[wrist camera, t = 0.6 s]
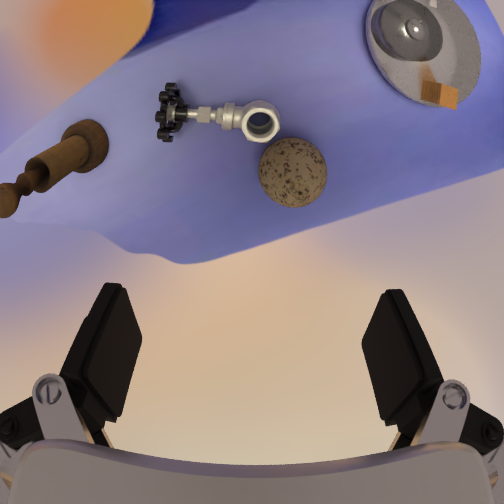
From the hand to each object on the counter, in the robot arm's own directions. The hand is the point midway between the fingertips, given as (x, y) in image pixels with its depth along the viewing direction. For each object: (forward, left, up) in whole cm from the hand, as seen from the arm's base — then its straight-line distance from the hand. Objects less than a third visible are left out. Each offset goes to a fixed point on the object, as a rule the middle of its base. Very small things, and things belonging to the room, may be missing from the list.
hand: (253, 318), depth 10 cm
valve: (-3, -3, -27) cm, 27 cm away
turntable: (-15, +20, -25) cm, 35 cm away
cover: (-15, +15, -24) cm, 32 cm away
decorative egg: (+2, +4, -27) cm, 27 cm away
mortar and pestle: (-1, -21, -27) cm, 34 cm away
